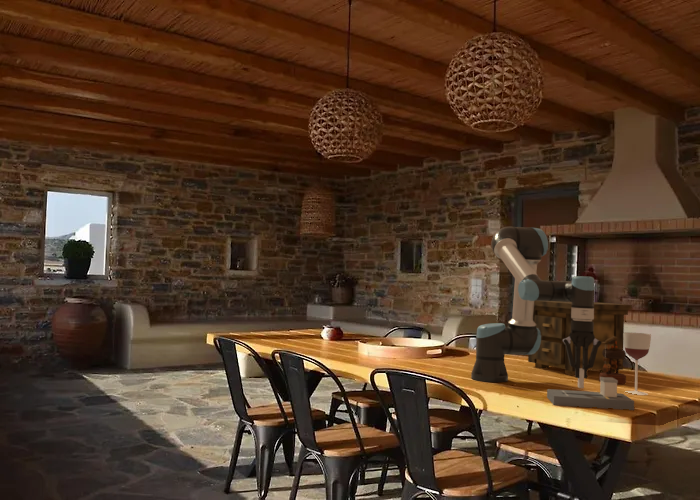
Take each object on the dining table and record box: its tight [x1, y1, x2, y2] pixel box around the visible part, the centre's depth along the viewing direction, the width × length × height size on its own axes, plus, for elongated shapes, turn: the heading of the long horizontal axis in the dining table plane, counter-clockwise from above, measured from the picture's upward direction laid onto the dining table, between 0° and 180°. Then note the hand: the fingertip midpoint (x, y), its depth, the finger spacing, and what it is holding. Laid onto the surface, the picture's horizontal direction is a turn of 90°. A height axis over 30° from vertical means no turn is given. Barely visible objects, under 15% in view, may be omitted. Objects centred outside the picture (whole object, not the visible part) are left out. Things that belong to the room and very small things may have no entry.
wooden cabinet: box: [527, 301, 633, 376], centre depth 302 cm, size 35×35×33 cm
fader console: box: [546, 388, 635, 411], centre depth 220 cm, size 26×14×3 cm, turn 82°
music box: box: [599, 336, 627, 385], centre depth 270 cm, size 15×11×20 cm
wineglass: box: [623, 332, 652, 396], centre depth 245 cm, size 9×10×23 cm
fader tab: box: [599, 376, 618, 397], centre depth 219 cm, size 4×6×6 cm
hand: (580, 387), depth 220 cm, fingers closed
